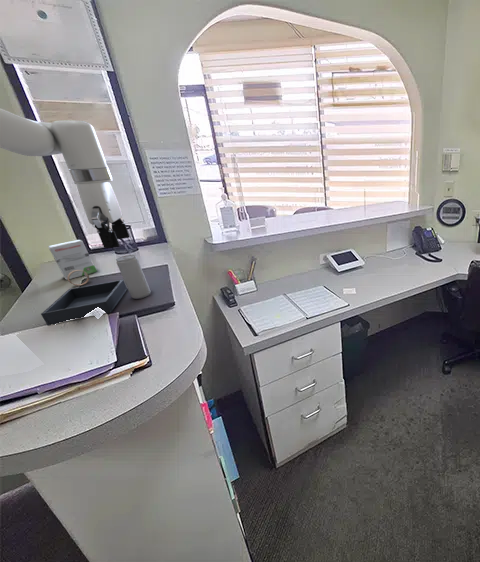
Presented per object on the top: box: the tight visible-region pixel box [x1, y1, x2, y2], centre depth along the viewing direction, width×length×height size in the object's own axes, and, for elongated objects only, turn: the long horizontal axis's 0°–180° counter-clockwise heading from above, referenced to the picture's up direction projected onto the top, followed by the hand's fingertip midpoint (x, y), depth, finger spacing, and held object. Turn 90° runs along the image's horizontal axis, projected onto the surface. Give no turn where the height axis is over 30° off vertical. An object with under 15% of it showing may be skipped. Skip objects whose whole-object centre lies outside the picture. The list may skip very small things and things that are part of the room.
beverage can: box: [115, 254, 152, 300], centre depth 88 cm, size 5×5×12 cm
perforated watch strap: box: [67, 270, 90, 287], centre depth 100 cm, size 3×5×5 cm, turn 147°
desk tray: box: [40, 279, 128, 326], centre depth 86 cm, size 13×16×3 cm
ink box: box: [47, 239, 98, 281], centre depth 107 cm, size 9×5×12 cm, turn 141°
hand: (118, 242), depth 84 cm, fingers open, 9 cm apart
